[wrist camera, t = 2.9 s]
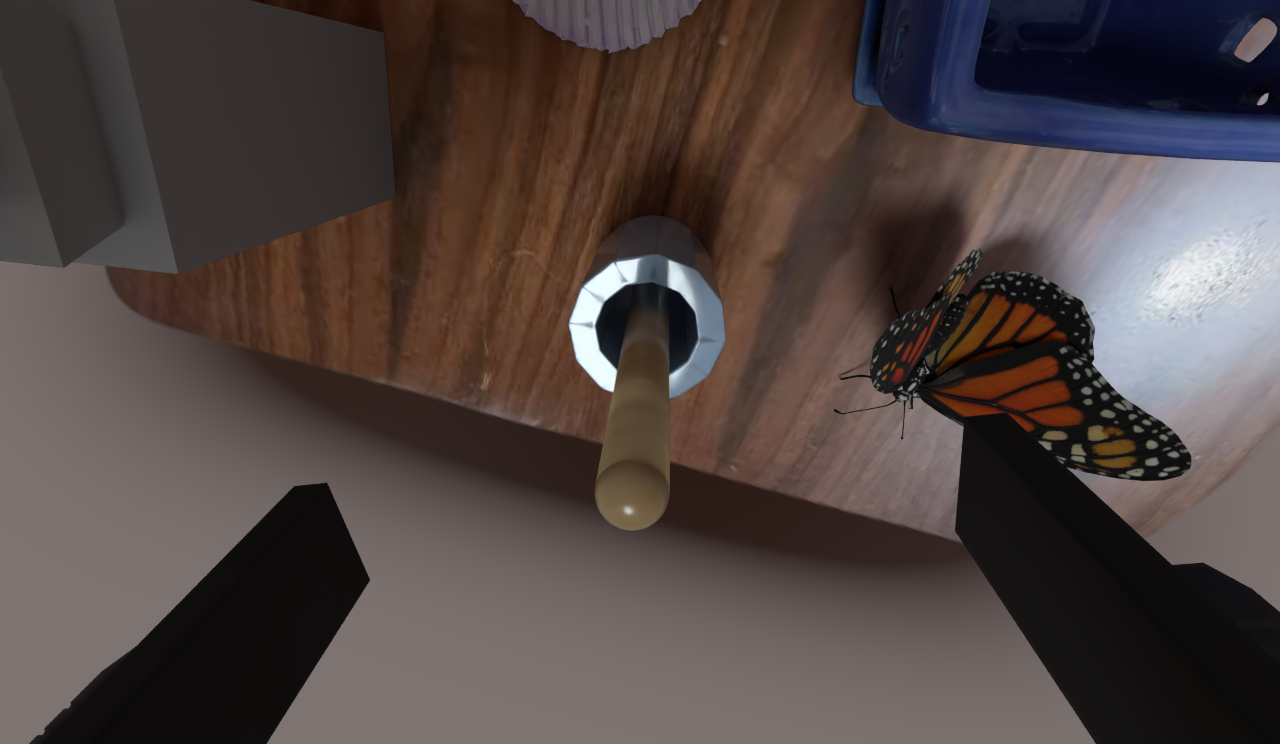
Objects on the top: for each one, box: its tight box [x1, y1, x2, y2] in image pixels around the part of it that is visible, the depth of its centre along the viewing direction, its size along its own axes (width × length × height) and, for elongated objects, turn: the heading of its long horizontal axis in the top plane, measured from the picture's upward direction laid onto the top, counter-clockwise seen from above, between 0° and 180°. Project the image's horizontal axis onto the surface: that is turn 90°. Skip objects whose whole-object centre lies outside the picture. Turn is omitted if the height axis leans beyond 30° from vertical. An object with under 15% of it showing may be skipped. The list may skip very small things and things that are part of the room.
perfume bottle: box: [0, 0, 396, 274], centre depth 18 cm, size 7×7×18 cm
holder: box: [568, 215, 726, 398], centre depth 25 cm, size 6×6×8 cm
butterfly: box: [834, 249, 1191, 481], centre depth 25 cm, size 12×10×10 cm
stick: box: [595, 282, 670, 530], centre depth 20 cm, size 2×2×18 cm
